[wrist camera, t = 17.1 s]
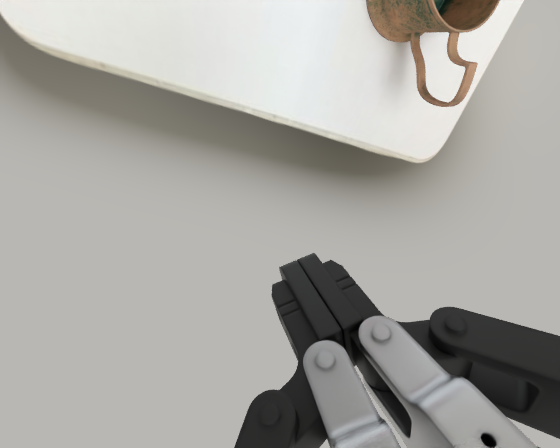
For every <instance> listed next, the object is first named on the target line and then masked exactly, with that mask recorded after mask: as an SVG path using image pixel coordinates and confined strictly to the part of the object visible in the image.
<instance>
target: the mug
mask: <svg viewBox="0 0 560 448" xmlns="http://www.w3.org/2000/svg"><path fill="white" fill-rule="evenodd" d="M499 1H500V0H367V7H368V12H369V15H370V18H371V21H372V23H373V25H374V27H375V28H376V30H377V31H378V32H379V33H380V34H381V35H382V36H383V37H385V38H386V39H388V40H390V41H394V42H407V41H411V49H412V53H413V56H414V59H415V63H416V72H417V88H418V91H419V94H420V95H421V97H422V98H423V99H424V100H426V101H427V102H429V103H430V104H433V105H436V106H441V107H449V106H455V105H457V104H459V103H460V102H461V101H462V100H463V99H464V98H465V96H466V94H467V92H468V90H469V88H470V85H471V83H472V80H473V77H474V74H475V71H476V67H477V63H475V62H468V61H465V60H463V59H461V58H460V56H459V55H458V52H457V42H458V37H459V32H469V31H472V30H475V29H477V28H478V27H480V26H481V25H483V24H484V23H485V22H486V21H487V20H488V19H489V17H490V16H491V15H492V14H493V12H494V10H495V9H496V7H497V5H498V3H499ZM424 32H449V38H448V44H447V53H448V56H449V58H450V60H451V61H452V62H453V63H455V64H457V65H460V66H465V69H466V70H465V73H464V76H463V80H462V83H461V85H460V88H459V90H458V92H457V94H456V96H455V97H454V99H453V100H452V101H451V102H449V103H447V102H443V101H439V100H437V99H435V98H434V97H432V96H431V95H430V93H429V92H428V90H427V88H426V81H425V63H424V59H423V55H422V52H421V49H420V44H419V41H420V35H422V34H423V33H424Z"/></svg>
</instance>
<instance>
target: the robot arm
mask: <svg viewBox="0 0 560 448" xmlns="http://www.w3.org/2000/svg"><path fill="white" fill-rule="evenodd" d="M279 269H280V273H281V276H282V281H280V282H278V283H275V284H273V285H272V298H273V302H274V304H275V307H276V310H277V313H278V316H279V319H280V322H281V324H282V326H283V329H284V331H285V333H286V335H287V337H288V340H289V342H290V344H291V346H292V349H293V351H294V353H295V355H296V358H297V360H298V366H297V370H296V372H295V374H294V375H293V377H292V378H291V379H290V380H289V382H287V383H286V384H285V385H284V386H283V387H282V388H281V389H280V390H268V391H265V392H263V393H261V394H260V395H258V396H257V397H256V398H255V399H254V400H253V401H252V403H251V405H250V406H249V409H248V411H247V414H246V417H245V420H244V423H243V425H242V428H241V431H240V433H239V436H238V439H237V442H236V445H235V447H234V448H319V447H320V446H321V445H322V444H323V443H324V441H325V440H326V439H327V440H328V443H329V445H330V448H401V447H400V445H399V443H398V441H397V440H396V438H395V435H394V434H393V432H392V430H391V428H390V427H389V425H388V424H387V423H386V421H385V420H384V419H382V418H381V417H380V416H379V414H378V412H377V410H376V409H375V407H374V405H373V403H372V401H371V399H370V397H369V395H368V393H367V392H366V389H365V387H364V385H363V383H362V382H361V379H360V378H359V375H358V374H357V372H356V370H355V368H354V366H355V365H357V367H358V368H359V370H360V372H361V373H362V375H363V381H364V384H365V386H366V388H367V390H368V391H369V392H370V394H371V395H372V397H373V398H374V399H375V401H376V402H377V404H378V405H379V406H380V408H381V409H382V411H383V412H384V414H385V415H386V417H387V418H388V419H389V421H390V422H391V424H392V425H393V427H394V428H395V429H396V431H397V432H398V434H399V435H400V436H401V438H402V439H403V441H404V443H405V444H406V446H407V448H539V447H537V446H536V445H535V444H534V443H533V442H531V441H530V439H529V438H527V437H526V436H525V435H524V434H523V433H522V432H521V431H520V430H519V429H518V428H517V427H516V426H515V425H514V424H513V423H512V422H511V421H510V420H509V419H508V418H510V419H513V420H515V421H518V422H520V423H523V424H525V425H527V426H530V427H532V428H535V429H537V430H540V431H542V432H544V433H547V434H549V435H552V436H554V437H556V438H559V439H560V336H557V335H554V334H550V333H546V332H543V331H539V330H536V329H532V328H528V327H525V326H521V325H517V324H514V323H510V322H507V321H503V320H499V319H496V318H492V317H488V316H485V315H481V314H478V313H474V312H470V311H467V310H463V309H459V308H455V307H443V308H439V309H437V310H435V311H434V312H433V313H432V315H431V317H430V320H424V321H416V322H397V321H395V320H393V319H391V318H389V317H386V316H384V315H383V314H382V313H381V312H380V311H379V310H378V309H377V308H376V307H375V305H374V304H373V303H372V302H371V300H370V299H369V298H368V297H367V295H366V294H365V293H364V292H363V291H362V290H361V288H360V287H359V286H358V285H357V284H356V282H355V281H354V280H353V279H352V277H350V275H349V274H348V272H347V271H346V270H345V269H344V268H343V266H341V265H339V264H337V263H336V262H334V261H332V260H330V261H327V262H325V263H323V264H322V262H321V261H320V260H319V258H318V257H317V256H316V254H315V253H312V254H310V255H308V256H305V257H303V258H300V259H298V260H297V261H293V262H291V263H288V264H286V265H284V266H281V267H279ZM507 417H508V418H507Z"/></svg>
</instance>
